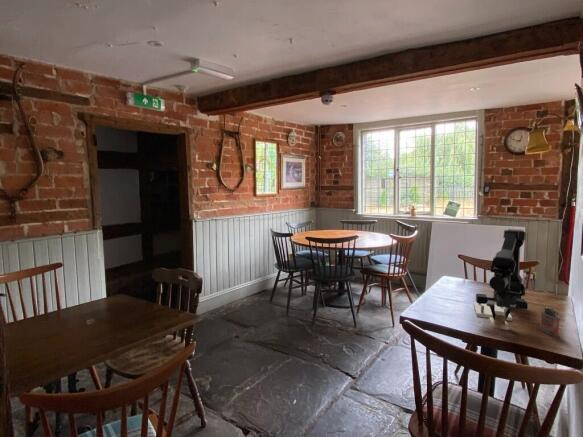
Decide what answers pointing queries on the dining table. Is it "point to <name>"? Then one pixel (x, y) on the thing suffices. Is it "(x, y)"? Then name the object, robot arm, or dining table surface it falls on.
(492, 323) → the tan boxy piece
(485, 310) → the chassis
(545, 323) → the reddish grey rectangular container
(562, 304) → the dining table surface
